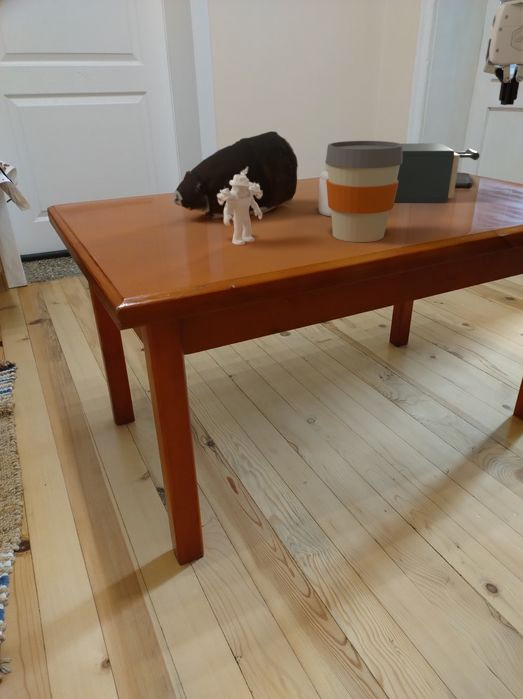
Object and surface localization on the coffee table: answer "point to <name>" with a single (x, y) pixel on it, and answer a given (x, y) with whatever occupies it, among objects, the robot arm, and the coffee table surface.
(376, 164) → the reusable coffee cup
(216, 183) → the dark brown rounded shape
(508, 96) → the robot arm
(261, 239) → the coffee table surface
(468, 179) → the phone
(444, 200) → the cabinet
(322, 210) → the eye dropper bottle
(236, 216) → the flower shoulder figurine
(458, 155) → the drawer
